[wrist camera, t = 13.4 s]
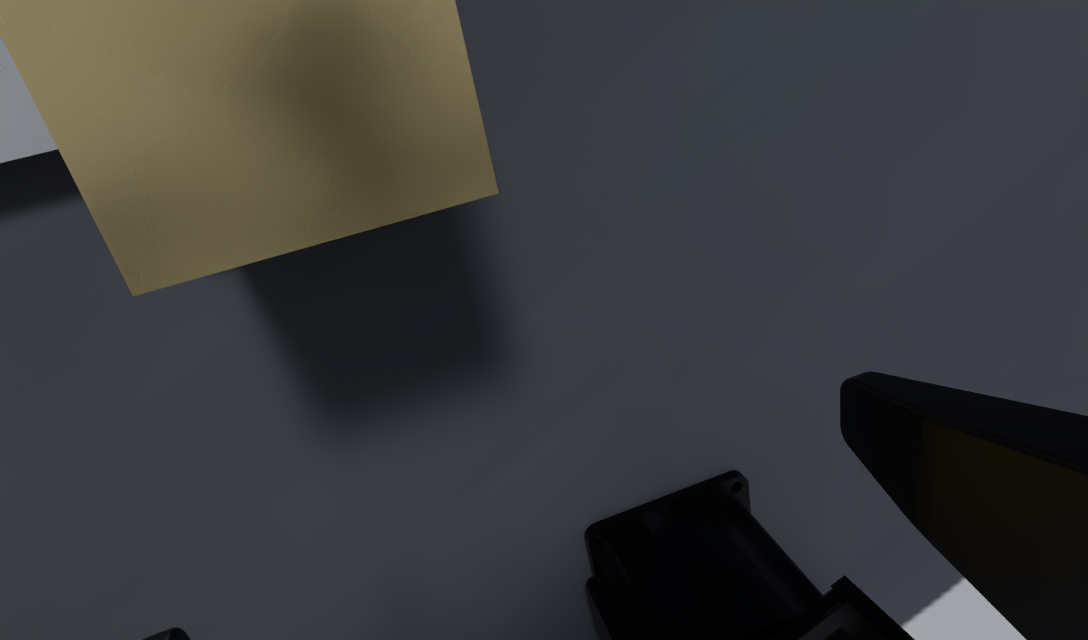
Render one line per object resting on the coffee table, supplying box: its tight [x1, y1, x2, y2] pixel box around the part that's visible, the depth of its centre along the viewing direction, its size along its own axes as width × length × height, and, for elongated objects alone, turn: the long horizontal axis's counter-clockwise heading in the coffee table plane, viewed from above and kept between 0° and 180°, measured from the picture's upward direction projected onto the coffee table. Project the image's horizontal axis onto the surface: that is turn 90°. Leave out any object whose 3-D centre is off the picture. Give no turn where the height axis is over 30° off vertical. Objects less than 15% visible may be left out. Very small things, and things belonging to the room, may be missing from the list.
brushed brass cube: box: [0, 0, 499, 296], centre depth 13 cm, size 6×6×6 cm
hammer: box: [0, 36, 58, 163], centre depth 14 cm, size 17×7×4 cm, turn 102°
